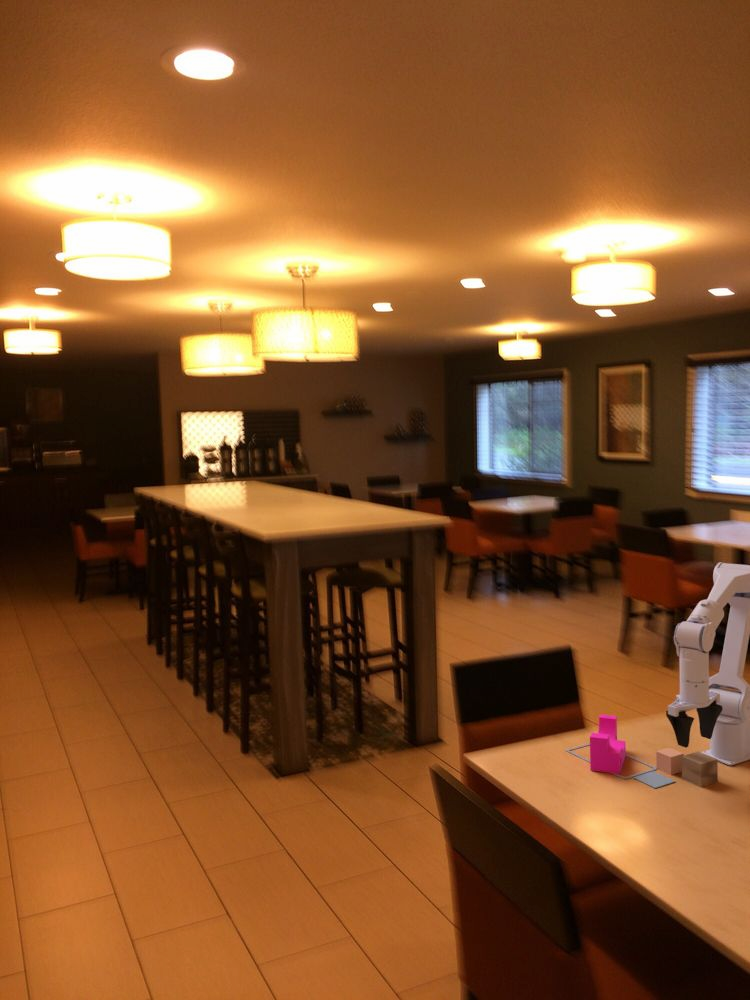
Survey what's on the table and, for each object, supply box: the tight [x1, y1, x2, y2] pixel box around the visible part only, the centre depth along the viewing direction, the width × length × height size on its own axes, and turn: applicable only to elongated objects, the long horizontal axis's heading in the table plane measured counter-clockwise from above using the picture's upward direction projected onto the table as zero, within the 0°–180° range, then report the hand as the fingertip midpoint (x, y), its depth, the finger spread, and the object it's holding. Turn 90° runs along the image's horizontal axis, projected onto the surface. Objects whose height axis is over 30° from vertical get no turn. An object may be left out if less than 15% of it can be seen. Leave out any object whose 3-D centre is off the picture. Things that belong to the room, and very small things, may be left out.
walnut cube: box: [681, 750, 719, 788], centre depth 167 cm, size 5×5×5 cm
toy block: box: [589, 714, 627, 775], centre depth 179 cm, size 15×6×8 cm, turn 155°
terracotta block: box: [655, 747, 685, 776], centre depth 173 cm, size 4×4×4 cm
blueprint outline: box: [565, 743, 676, 790], centre depth 177 cm, size 10×25×1 cm, turn 28°
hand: (694, 741), depth 167 cm, fingers open, 7 cm apart
